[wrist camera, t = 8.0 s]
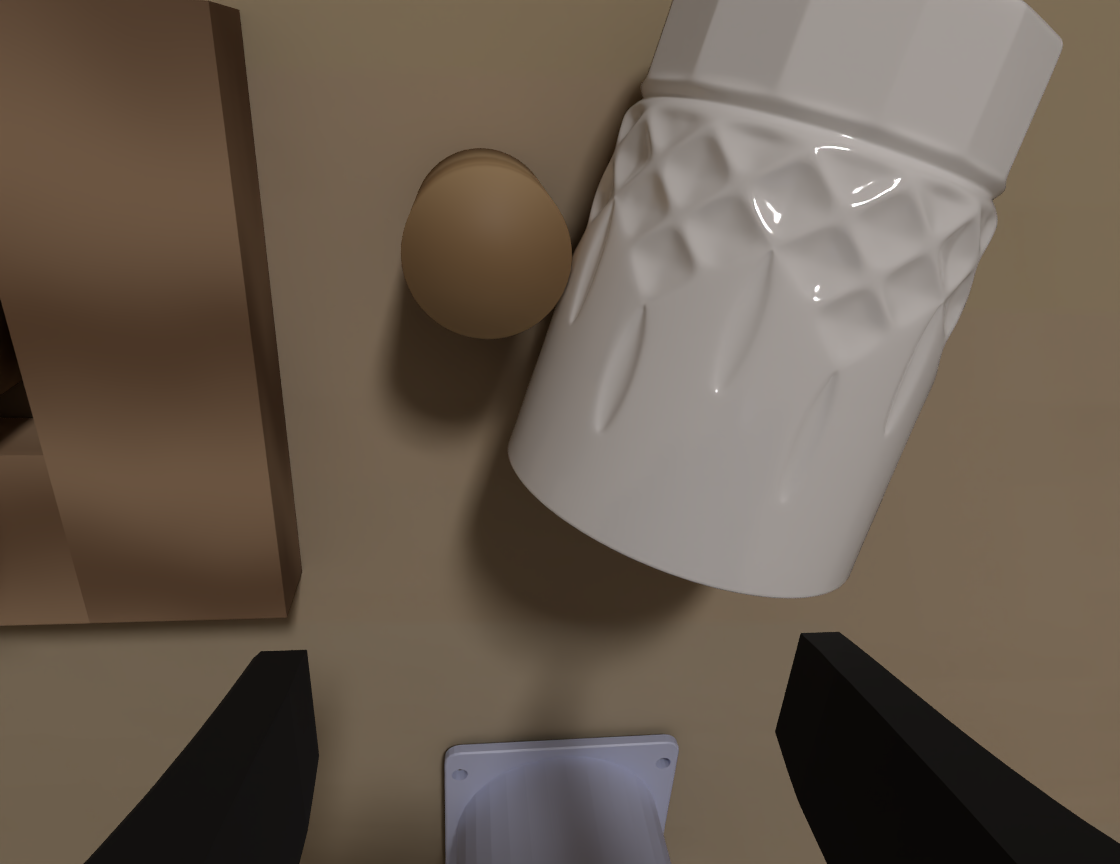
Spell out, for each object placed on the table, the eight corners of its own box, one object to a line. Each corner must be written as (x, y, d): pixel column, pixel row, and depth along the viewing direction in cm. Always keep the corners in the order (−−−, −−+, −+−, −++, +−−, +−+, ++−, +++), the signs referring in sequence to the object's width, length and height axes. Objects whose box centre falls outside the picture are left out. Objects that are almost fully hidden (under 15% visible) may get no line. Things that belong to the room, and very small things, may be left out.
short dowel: (546, 288, 18) (566, 340, 15) (416, 285, 18) (404, 338, 14) (553, 151, 17) (577, 172, 13) (411, 145, 16) (397, 164, 13)
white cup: (681, 16, 18) (561, 397, 21) (615, -142, 10) (447, 486, 13) (1018, 107, 16) (834, 500, 19) (1222, -1, 9) (872, 659, 12)
